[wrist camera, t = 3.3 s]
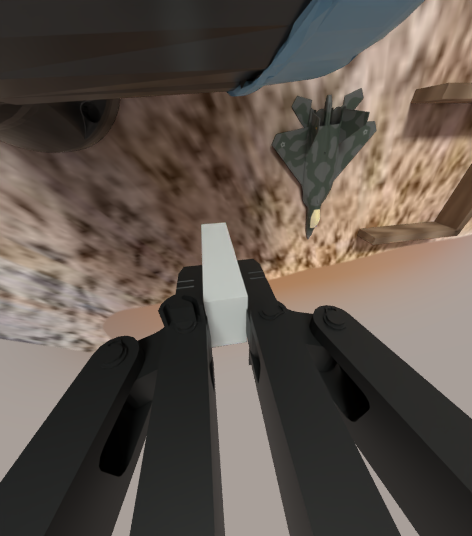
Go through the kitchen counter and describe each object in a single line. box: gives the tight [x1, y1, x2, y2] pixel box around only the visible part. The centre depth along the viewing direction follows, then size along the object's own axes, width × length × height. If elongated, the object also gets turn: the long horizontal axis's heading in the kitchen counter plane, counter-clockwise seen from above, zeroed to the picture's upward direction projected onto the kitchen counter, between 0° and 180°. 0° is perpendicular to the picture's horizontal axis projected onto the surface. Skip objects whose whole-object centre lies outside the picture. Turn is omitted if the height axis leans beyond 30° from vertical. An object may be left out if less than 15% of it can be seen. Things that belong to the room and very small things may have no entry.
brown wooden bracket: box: [358, 83, 472, 245], centre depth 26 cm, size 16×18×4 cm
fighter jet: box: [272, 88, 376, 239], centre depth 24 cm, size 13×18×4 cm
